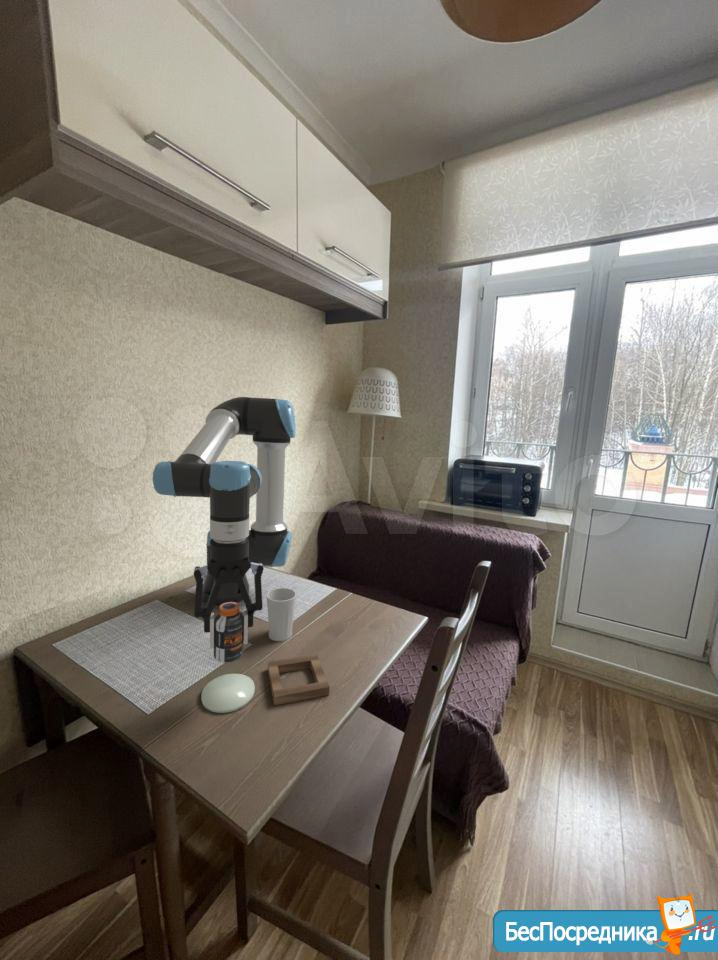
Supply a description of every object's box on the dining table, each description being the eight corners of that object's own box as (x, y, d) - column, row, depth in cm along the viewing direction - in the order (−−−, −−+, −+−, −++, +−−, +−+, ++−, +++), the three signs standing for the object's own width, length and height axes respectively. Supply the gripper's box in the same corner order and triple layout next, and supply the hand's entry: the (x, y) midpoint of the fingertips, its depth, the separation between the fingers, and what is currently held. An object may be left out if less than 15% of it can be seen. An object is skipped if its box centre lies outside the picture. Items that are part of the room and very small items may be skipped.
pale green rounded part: (202, 681, 87) (202, 678, 87) (252, 673, 91) (252, 670, 90) (200, 718, 77) (200, 714, 77) (256, 707, 80) (256, 703, 80)
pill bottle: (224, 667, 78) (224, 616, 76) (208, 655, 81) (207, 605, 79) (249, 654, 82) (249, 605, 81) (232, 643, 86) (232, 596, 84)
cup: (288, 645, 102) (289, 603, 100) (260, 640, 104) (261, 598, 102) (298, 629, 110) (300, 590, 108) (272, 624, 112) (273, 586, 110)
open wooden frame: (267, 669, 92) (267, 661, 92) (316, 661, 96) (316, 654, 96) (274, 705, 81) (274, 697, 81) (329, 694, 85) (329, 686, 85)
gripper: (176, 546, 71) (177, 660, 75) (279, 541, 77) (276, 646, 81) (180, 534, 78) (181, 638, 82) (274, 530, 84) (272, 627, 88)
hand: (228, 642), depth 81 cm, fingers closed on pill bottle, 6 cm apart
